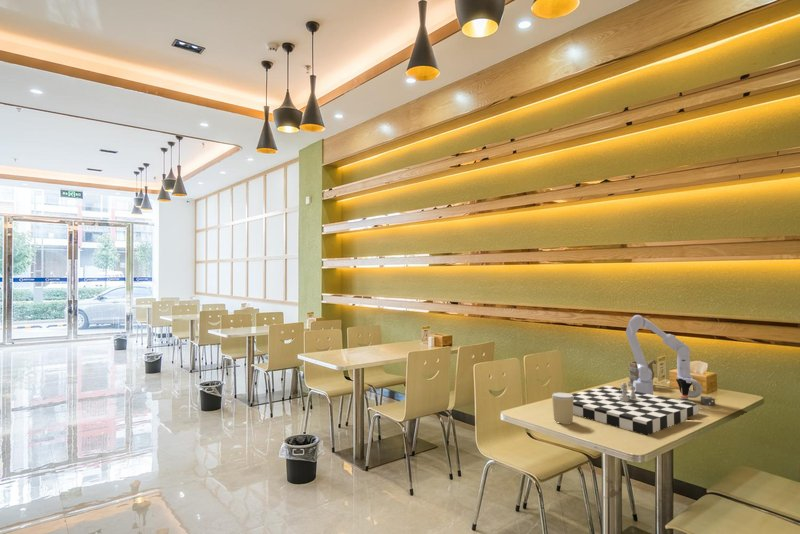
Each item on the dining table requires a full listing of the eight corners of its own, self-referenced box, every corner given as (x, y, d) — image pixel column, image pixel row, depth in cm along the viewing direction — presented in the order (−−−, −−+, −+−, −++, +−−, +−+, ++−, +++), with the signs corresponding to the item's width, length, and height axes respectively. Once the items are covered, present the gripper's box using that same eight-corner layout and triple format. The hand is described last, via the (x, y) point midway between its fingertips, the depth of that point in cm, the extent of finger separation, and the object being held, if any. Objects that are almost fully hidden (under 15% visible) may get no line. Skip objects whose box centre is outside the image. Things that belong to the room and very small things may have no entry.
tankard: (640, 389, 260) (640, 363, 260) (623, 384, 272) (622, 359, 272) (666, 386, 266) (666, 361, 267) (648, 382, 278) (648, 357, 279)
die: (704, 407, 223) (704, 398, 223) (700, 405, 228) (700, 396, 228) (715, 408, 222) (714, 399, 222) (711, 405, 227) (710, 396, 227)
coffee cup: (578, 422, 202) (578, 395, 202) (564, 426, 197) (564, 398, 197) (562, 417, 210) (561, 391, 210) (547, 420, 205) (547, 393, 205)
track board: (689, 411, 218) (689, 408, 218) (674, 399, 238) (674, 397, 238) (706, 412, 216) (706, 409, 216) (689, 400, 236) (689, 398, 236)
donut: (703, 398, 240) (703, 379, 240) (701, 399, 238) (701, 380, 238) (682, 395, 248) (682, 376, 248) (680, 396, 245) (680, 377, 246)
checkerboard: (646, 436, 185) (646, 400, 186) (555, 410, 223) (554, 380, 223) (698, 417, 210) (697, 385, 210) (608, 396, 248) (607, 369, 248)
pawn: (681, 398, 233) (681, 383, 233) (679, 396, 237) (679, 382, 237) (689, 398, 232) (689, 384, 232) (687, 396, 236) (686, 382, 236)
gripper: (697, 370, 227) (698, 398, 226) (687, 365, 241) (687, 391, 240) (681, 370, 228) (682, 397, 228) (672, 364, 243) (672, 390, 242)
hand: (684, 394), depth 234 cm, fingers closed on pawn, 3 cm apart
